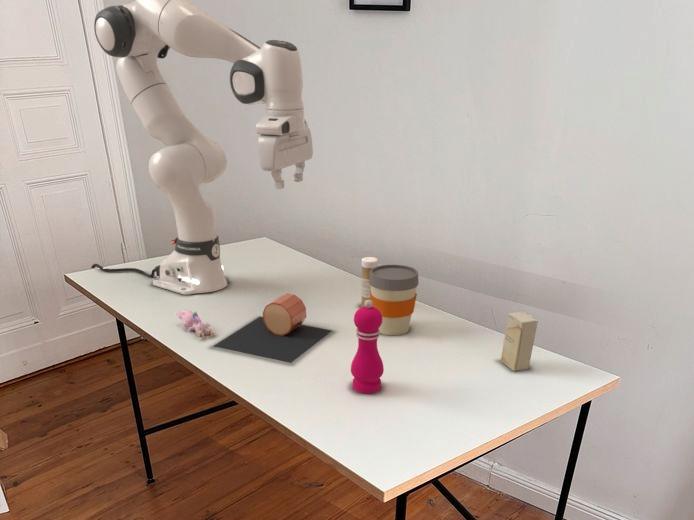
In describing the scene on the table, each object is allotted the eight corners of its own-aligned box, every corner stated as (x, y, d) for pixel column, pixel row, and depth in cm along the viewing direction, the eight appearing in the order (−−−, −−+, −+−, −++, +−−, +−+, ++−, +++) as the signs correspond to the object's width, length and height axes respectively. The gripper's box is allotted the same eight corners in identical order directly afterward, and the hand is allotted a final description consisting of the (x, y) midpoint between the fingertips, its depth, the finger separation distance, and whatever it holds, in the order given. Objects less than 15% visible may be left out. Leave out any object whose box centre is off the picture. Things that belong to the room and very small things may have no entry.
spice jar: (369, 302, 196) (370, 255, 188) (380, 307, 193) (381, 259, 185) (357, 306, 193) (358, 258, 186) (367, 310, 191) (368, 262, 183)
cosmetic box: (500, 361, 164) (506, 312, 157) (515, 358, 165) (523, 310, 159) (514, 372, 159) (522, 322, 152) (530, 369, 161) (538, 319, 154)
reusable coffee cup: (372, 339, 174) (373, 281, 166) (364, 320, 184) (365, 265, 176) (420, 336, 176) (424, 279, 167) (410, 318, 186) (413, 263, 178)
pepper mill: (385, 382, 154) (389, 295, 143) (379, 396, 148) (382, 307, 137) (354, 378, 155) (355, 292, 144) (347, 392, 150) (347, 304, 138)
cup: (263, 332, 176) (261, 300, 171) (278, 322, 182) (276, 291, 177) (292, 338, 173) (291, 305, 168) (306, 328, 179) (305, 296, 174)
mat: (213, 347, 169) (212, 346, 168) (259, 317, 185) (259, 316, 185) (290, 364, 161) (290, 362, 161) (332, 331, 178) (332, 330, 178)
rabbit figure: (219, 340, 176) (190, 314, 184) (218, 319, 172) (189, 294, 180) (197, 346, 172) (168, 320, 180) (196, 325, 168) (167, 299, 176)
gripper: (295, 116, 170) (298, 176, 178) (251, 126, 155) (257, 191, 163) (317, 117, 168) (319, 178, 176) (275, 128, 153) (280, 193, 160)
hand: (289, 184), depth 169 cm, fingers open, 8 cm apart
